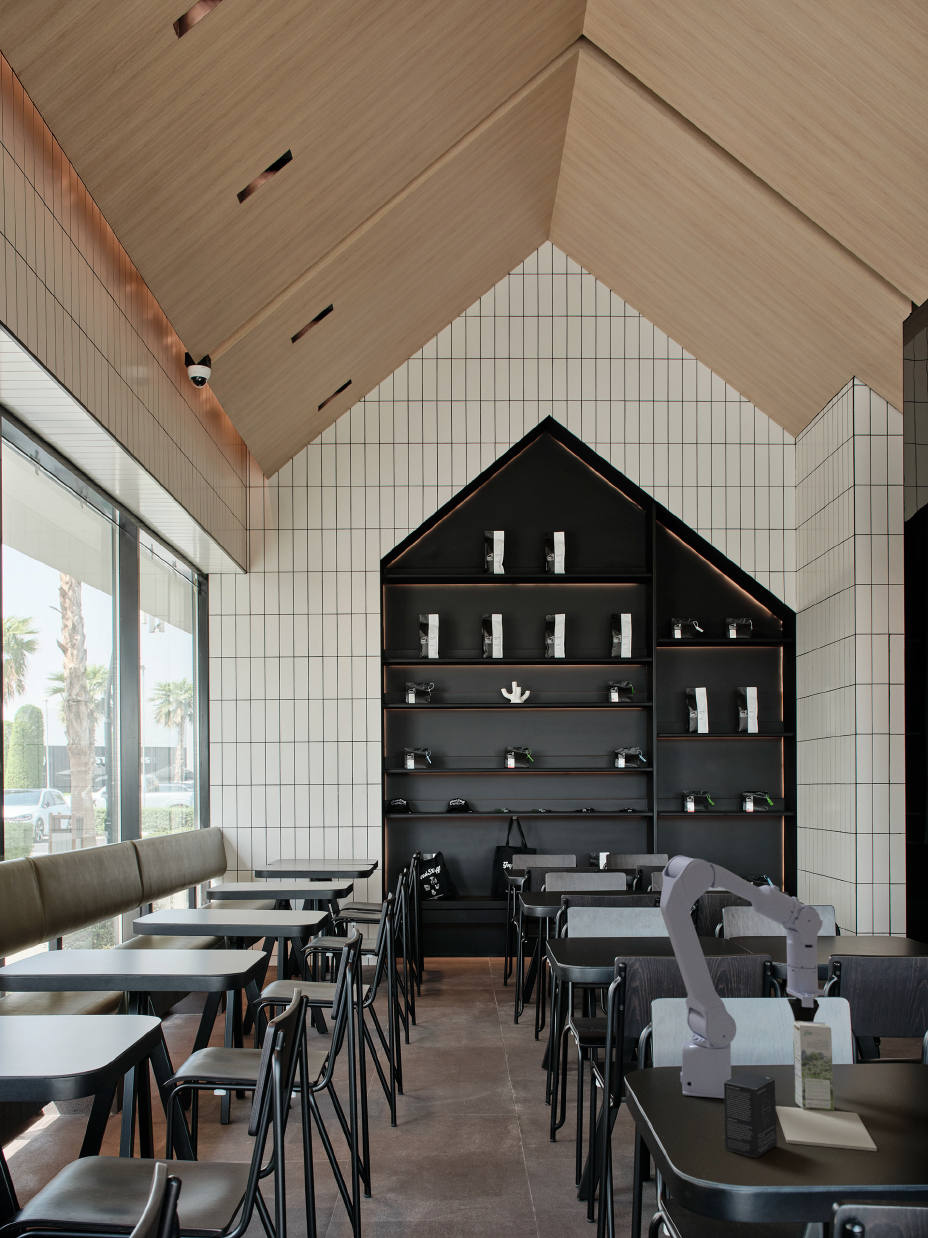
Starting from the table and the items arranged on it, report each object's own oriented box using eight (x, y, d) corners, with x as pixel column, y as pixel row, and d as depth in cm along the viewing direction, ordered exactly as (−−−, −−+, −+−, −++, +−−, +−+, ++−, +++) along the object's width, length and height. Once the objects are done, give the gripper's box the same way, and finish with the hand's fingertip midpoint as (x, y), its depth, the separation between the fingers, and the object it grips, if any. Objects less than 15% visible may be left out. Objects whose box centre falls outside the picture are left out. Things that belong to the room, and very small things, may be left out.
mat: (786, 1143, 167) (786, 1140, 167) (775, 1109, 184) (775, 1106, 184) (876, 1151, 164) (876, 1148, 164) (856, 1116, 181) (856, 1113, 181)
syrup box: (826, 1105, 187) (822, 1021, 191) (834, 1112, 181) (831, 1025, 185) (794, 1103, 188) (791, 1019, 191) (802, 1109, 182) (799, 1024, 186)
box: (745, 1138, 169) (744, 1071, 170) (777, 1146, 165) (776, 1078, 167) (723, 1150, 163) (722, 1080, 164) (757, 1159, 159) (756, 1088, 161)
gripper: (829, 974, 192) (831, 1049, 190) (818, 961, 206) (820, 1031, 204) (790, 972, 194) (792, 1046, 192) (782, 959, 208) (783, 1028, 206)
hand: (804, 1038), depth 198 cm, fingers closed
